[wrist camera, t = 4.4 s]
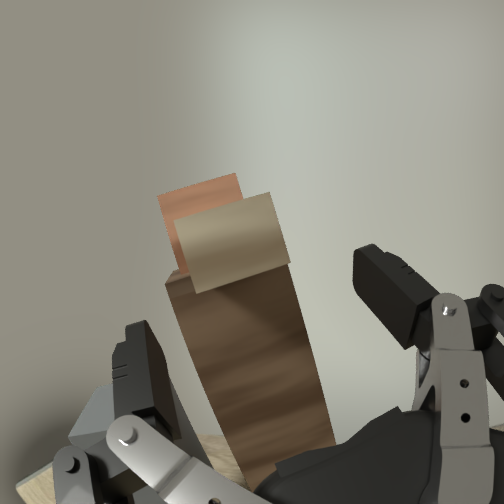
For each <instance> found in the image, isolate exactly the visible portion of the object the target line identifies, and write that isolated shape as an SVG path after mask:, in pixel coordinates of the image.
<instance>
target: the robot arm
mask: <svg viewBox="0 0 504 504" xmlns="http://www.w3.org/2000/svg"><path fill="white" fill-rule="evenodd" d="M353 286H354V289H355V291H356V293H357V295H358V296H359V297H360V298H361V299H362V300H363V302H364V303H365V304H366V305H367V306H368V307H369V308H370V310H371V311H372V312H373V313H374V314H375V315H376V317H377V318H378V319H379V320H380V321H381V322H382V324H383V325H384V326H385V327H386V328H387V329H388V331H389V332H390V333H391V334H392V335H393V336H394V338H395V339H396V340H397V341H398V342H399V344H400V345H401V346H402V347H403V348H404V350H406V349H408V348H410V347H411V346H413V345H415V346H416V347H417V348H418V349H417V353H416V388H415V398H414V402H413V405H412V410H411V411H406V412H401V410H400V409H399V407H398V406H397V407H395V408H393V409H392V410H390V411H388V412H386V413H384V414H383V415H381V416H379V417H377V418H375V419H374V420H371V421H370V422H369V423H368V424H367V425H366V426H364V427H363V428H362V429H361V430H360V431H358V432H357V433H356V434H355V435H354V436H353V437H351V438H350V439H349V440H348V441H346V442H345V443H343V444H339V445H335V446H330V447H325V448H319V449H314V450H308V451H305V452H303V453H300V454H298V455H295V456H293V457H290V458H287V459H285V460H282V461H279V462H277V463H274V464H275V467H276V469H277V470H276V471H274V472H273V473H271V474H270V475H269V476H267V477H266V478H265V479H264V480H263V481H262V482H261V483H260V484H259V485H258V486H257V487H256V489H255V490H254V491H253V493H252V492H250V491H248V490H246V489H245V488H243V487H241V486H240V485H238V484H236V483H235V482H233V481H231V480H230V479H228V478H226V477H225V476H223V475H221V474H220V473H218V472H217V471H215V470H214V469H212V468H211V467H209V466H208V465H206V464H205V463H203V462H202V461H200V460H198V459H197V458H195V457H194V456H190V455H188V454H187V453H185V452H184V451H183V450H181V449H180V448H178V447H177V446H176V445H174V442H173V441H174V440H178V439H182V437H181V432H180V428H179V424H178V419H177V414H176V410H175V405H174V400H173V395H172V390H171V385H170V380H169V374H168V369H167V363H166V360H165V356H164V353H163V350H162V348H161V346H160V344H159V343H158V341H157V339H156V337H155V335H154V333H153V332H152V330H151V328H150V326H149V324H148V322H147V321H146V320H143V321H140V322H137V323H133V324H130V325H127V326H126V329H125V334H126V341H124V342H121V343H117V345H116V348H115V350H114V352H113V355H112V369H113V371H112V376H113V377H112V378H113V401H114V421H113V422H112V424H111V425H110V426H109V428H108V430H107V434H106V437H105V438H104V439H102V440H101V441H99V442H97V443H95V444H94V445H92V446H90V447H88V448H86V449H84V450H82V449H81V448H80V447H78V446H74V445H70V446H66V447H63V448H62V449H60V450H59V451H58V452H57V454H56V455H55V457H54V460H53V479H54V490H55V499H56V504H135V501H134V497H133V493H135V492H136V491H138V490H140V489H142V488H144V487H146V486H147V485H149V486H150V487H152V488H153V489H154V490H155V491H156V492H157V494H158V495H159V496H160V497H161V498H162V499H163V500H164V501H166V502H167V503H168V504H504V432H503V431H499V430H495V429H491V428H489V415H488V398H487V387H486V378H487V380H488V381H489V382H490V384H491V385H492V386H493V387H494V389H495V390H496V391H497V393H498V394H499V395H500V397H501V398H502V400H503V401H504V346H503V345H502V343H501V342H500V341H499V340H498V339H497V338H496V336H497V334H498V332H500V333H501V335H502V336H503V337H504V288H503V287H501V286H500V285H496V284H489V285H486V286H484V287H483V288H482V291H481V293H480V296H479V297H476V298H471V299H467V300H463V299H461V298H460V297H459V296H457V295H455V294H451V293H442V294H440V293H439V292H438V291H437V290H436V289H435V288H434V287H433V286H431V285H430V284H429V283H428V282H427V281H426V280H425V279H424V278H423V277H422V276H420V275H419V274H418V273H417V272H415V270H413V269H412V268H411V267H410V266H408V264H407V263H406V262H404V261H403V260H402V259H401V258H400V257H398V256H396V255H394V254H391V253H389V252H385V253H384V252H383V251H382V250H381V249H379V248H378V247H377V246H376V245H375V244H369V245H367V246H364V247H361V248H358V249H356V250H355V251H354V255H353Z"/></svg>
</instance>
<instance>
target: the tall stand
mask: <svg viewBox="0 0 504 504" xmlns="http://www.w3.org/2000/svg"><path fill="white" fill-rule="evenodd" d="M165 286H166V289H167V292H168V295H169V298H170V301H171V304H172V307H173V310H174V312H175V315H176V318H177V321H178V323H179V326H180V329H181V332H182V334H183V337H184V340H185V342H186V345H187V347H188V350H189V353H190V356H191V358H192V360H193V363H194V366H195V368H196V371H197V373H198V376H199V378H200V381H201V383H202V386H203V388H204V390H205V393H206V395H207V397H208V400H209V402H210V404H211V407H212V409H213V411H214V414H215V416H216V418H217V421H218V423H219V425H220V427H221V429H222V432H223V434H224V436H225V438H226V440H227V443H228V445H229V447H230V449H231V451H232V453H233V455H234V457H235V459H236V461H237V464H238V466H239V468H240V470H241V472H242V474H243V476H244V478H245V480H246V482H247V484H248V486H249V487H250V489H251V491H252V493H253V491H254V490H255V489H256V487H257V486H258V485H259V484H260V483H261V482H262V481H263V480H264V479H265V478H266V477H267V476H269V475H270V474H271V473H273V472H274V471H276V470H277V469H276V467H275V464H274V463H277V462H279V461H282V460H285V459H287V458H290V457H293V456H295V455H298V454H300V453H303V452H305V451H308V450H314V449H319V448H325V447H330V446H335V445H336V442H335V438H334V434H333V429H332V426H331V422H330V418H329V414H328V410H327V406H326V402H325V398H324V394H323V390H322V386H321V383H320V379H319V375H318V372H317V368H316V364H315V360H314V356H313V353H312V349H311V346H310V342H309V338H308V334H307V331H306V328H305V324H304V320H303V317H302V313H301V309H300V306H299V303H298V299H297V295H296V292H295V288H294V285H293V281H292V278H291V274H290V271H289V267H288V264H285V265H282V266H279V267H276V268H273V269H270V270H267V271H264V272H261V273H258V274H255V275H252V276H249V277H246V278H243V279H240V280H237V281H234V282H231V283H228V284H225V285H222V286H219V287H216V288H213V289H210V290H207V291H203V292H200V293H197V294H196V291H195V288H194V285H193V282H192V279H191V276H190V273H189V272H188V273H185V274H182V275H181V273H180V270H179V269H178V270H175V271H173V273H172V274H171V275H170V277H169V278H168V280H167V281H166V283H165Z"/></svg>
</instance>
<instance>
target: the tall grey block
mask: <svg viewBox="0 0 504 504" xmlns="http://www.w3.org/2000/svg"><path fill="white" fill-rule="evenodd" d="M169 380H170V385H171V390H172V395H173V400H174V405H175V410H176V414H177V419H178V424H179V428H180V432H181V437H182V439H178V440H174V441H173V442H174V445H176V446H177V447H178V448H180V449H181V450H183V451H184V452H185V453H187V454H188V455H190V456H194V457H195V458H197V459H198V460H200V461H202V462H203V463H205V464H206V465H208V466H209V467H211V468H212V469H214V468H213V466H212V465H211V463H210V461H209V459H208V457H207V455H206V453H205V451H204V449H203V447H202V445H201V444H200V442H199V440H198V438H197V436H196V434H195V432H194V430H193V427H192V426H191V424H190V421H189V419H188V417H187V415H186V413H185V411H184V409H183V406H182V404H181V402H180V400H179V398H178V395H177V393H176V391H175V389H174V386H173V384H172V382H171V379H170V377H169ZM113 421H114V401H113V384H109V385H105V386H101V387H97V388H96V390H95V391H94V393H93V395H92V396H91V398H90V400H89V401H88V403H87V405H86V407H85V408H84V410H83V411H82V413H81V415H80V417H79V418H78V420H77V422H76V423H75V425H74V427H73V429H72V431H71V432H70V434H69V436H68V438H69V440H70V441H71V443H72V445H74V446H78V447H80V448H81V449H82V450H84V449H86V448H88V447H90V446H92V445H94V444H95V443H97V442H99V441H101V440H102V439H104V438H105V437H106V434H107V430H108V428H109V426H110V425H111V424H112V422H113ZM133 497H134V501H135V504H168V503H167V502H166V501H164V500H163V499H162V498H161V497H160V496H159V495H158V494H157V492H156V491H155V490H154V489H153V488H152V487H150V486H149V485H147V486H146V487H144V488H142V489H140V490H138V491H136V492H135V493H133Z"/></svg>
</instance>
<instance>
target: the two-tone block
mask: <svg viewBox="0 0 504 504" xmlns="http://www.w3.org/2000/svg"><path fill="white" fill-rule="evenodd" d="M157 197H158V201H159V204H160V207H161V211H162V215H163V218H164V221H165V225H166V228H167V232H168V235H169V238H170V241H171V245H172V248H173V251H174V254H175V258H176V261H177V264H178V267H179V270H180V273H181V275H182V274H185V273H188V272H189V273H190V276H191V279H192V282H193V285H194V288H195V291H196V294H197V293H200V292H203V291H207V290H210V289H213V288H216V287H219V286H222V285H225V284H228V283H231V282H234V281H237V280H240V279H243V278H246V277H249V276H252V275H255V274H258V273H261V272H264V271H267V270H270V269H273V268H276V267H279V266H282V265H285V264H288V263H290V259H289V255H288V252H287V248H286V245H285V242H284V238H283V235H282V231H281V228H280V225H279V222H278V218H277V215H276V211H275V208H274V205H273V202H272V198H271V195H270V192H267V193H264V194H260V195H257V196H253V197H249V198H246V199H243V196H242V193H241V190H240V187H239V184H238V180H237V177H236V174H235V173H233V174H229V175H225V176H222V177H218V178H215V179H211V180H208V181H204V182H201V183H198V184H194V185H191V186H187V187H184V188H181V189H178V190H174V191H171V192H168V193H165V194H162V195H159V196H157Z"/></svg>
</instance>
